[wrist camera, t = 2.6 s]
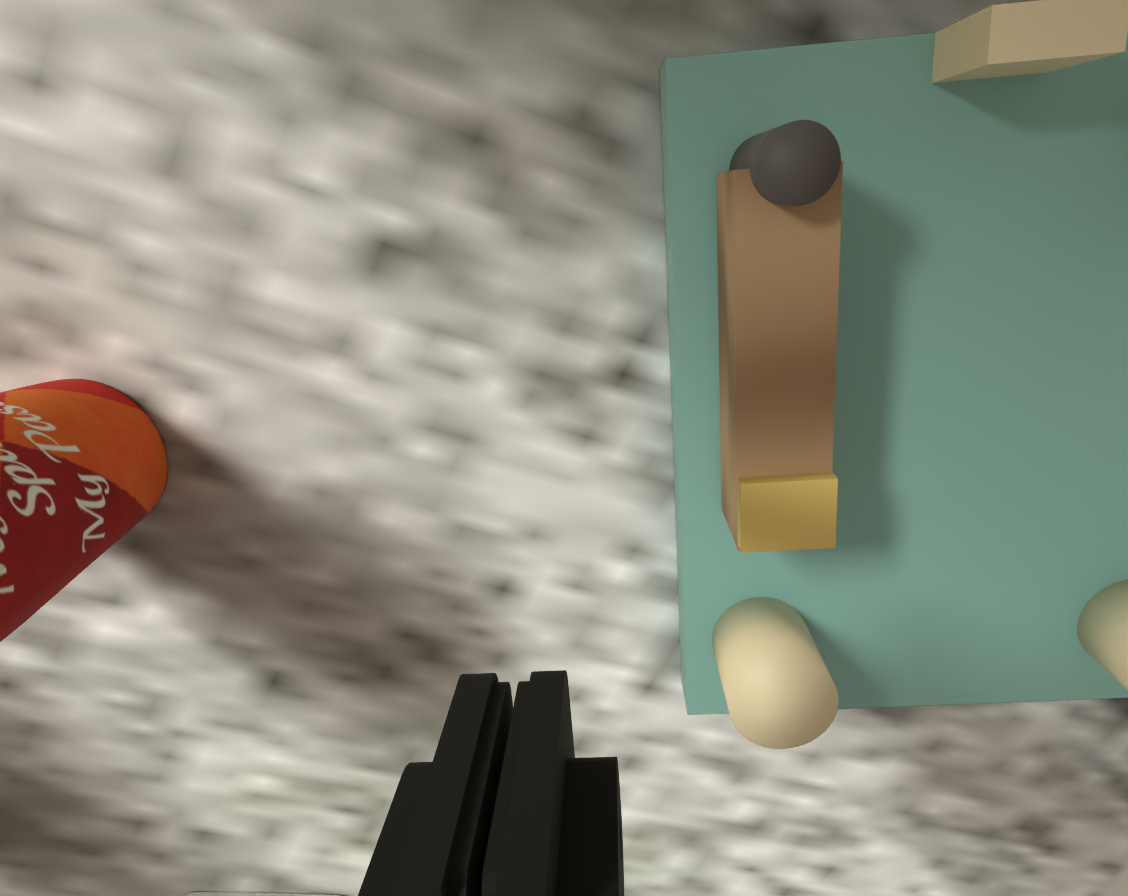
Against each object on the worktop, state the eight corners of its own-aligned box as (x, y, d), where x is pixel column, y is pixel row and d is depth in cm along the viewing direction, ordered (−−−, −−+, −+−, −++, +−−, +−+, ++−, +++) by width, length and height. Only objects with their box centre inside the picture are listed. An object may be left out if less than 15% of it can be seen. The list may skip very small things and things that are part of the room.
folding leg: (715, 138, 20) (742, 125, 17) (809, 129, 20) (858, 114, 16) (721, 508, 24) (744, 567, 20) (801, 504, 24) (840, 563, 20)
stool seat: (659, 70, 22) (678, 31, 17) (1275, 11, 21) (1501, -50, 16) (681, 680, 29) (700, 788, 23) (1149, 660, 27) (1279, 769, 22)
